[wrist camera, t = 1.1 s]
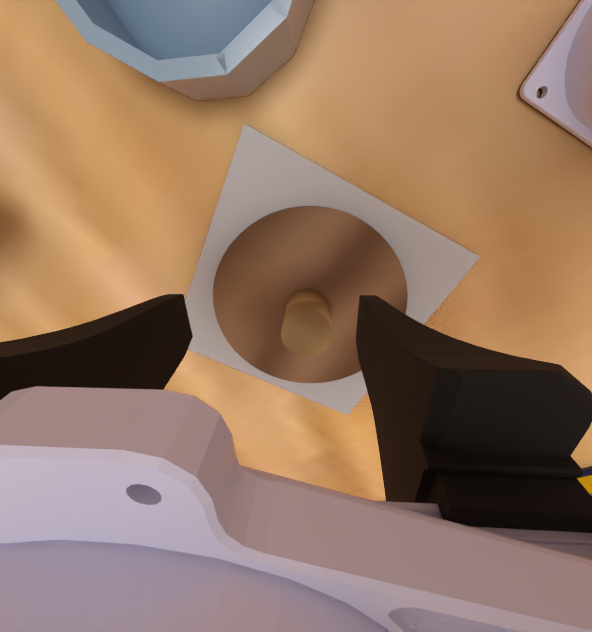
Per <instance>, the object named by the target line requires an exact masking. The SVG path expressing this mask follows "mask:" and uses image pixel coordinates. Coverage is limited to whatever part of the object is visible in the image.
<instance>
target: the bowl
mask: <svg viewBox="0 0 592 632" xmlns="http://www.w3.org/2000/svg"><path fill="white" fill-rule="evenodd" d="M56 2H57V3H58V4H59V6H60V7H61V8H62V10H63V11H64V12H65V14H66V15H67V16H68V18H69V19H70V20H71V22H72V23H73V24H74V26H75V27H76V28H77V30H78V31H79V32H80V34H81V35H82V36H83V38H84V39H85V40H86V42H87V43H89V44H91V45H93V46H95V47H97V48H99V49H100V50H102V51H104V52H106V53H108V54H109V55H111V56H113V57H115V58H116V59H118V60H120V61H122V62H124V63H125V64H127V65H129V66H131V67H132V68H134V69H136V70H138V71H140V72H141V73H143V74H145V75H147V76H149V77H150V78H152V79H154V80H156V81H157V82H159V83H161V84H163V85H165V86H167V87H169V88H171V89H173V90H175V91H177V92H179V93H181V94H183V95H185V96H187V97H189V98H191V99H193V100H195V101H200V100H211V99H221V98H231V97H241V96H249V95H250V94H252V93H253V92H254V91H255V90H256V89H257V88H258V87H259V86H260V85H261V84H263V83H264V82H265V81H266V80H267V79H268V78H269V77H270V76H271V75H273V74H274V73H275V72H276V71H277V70H278V69H279V68H280V67H281V66H282V65H284V64H285V63H286V62H287V61H288V60H289V59H290V58H291V57H292V56H294V54H295V51H296V49H297V46H298V43H299V40H300V38H301V35H302V32H303V30H304V27H305V24H306V21H307V19H308V16H309V13H310V11H311V8H312V5H313V2H314V0H56Z"/></svg>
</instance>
